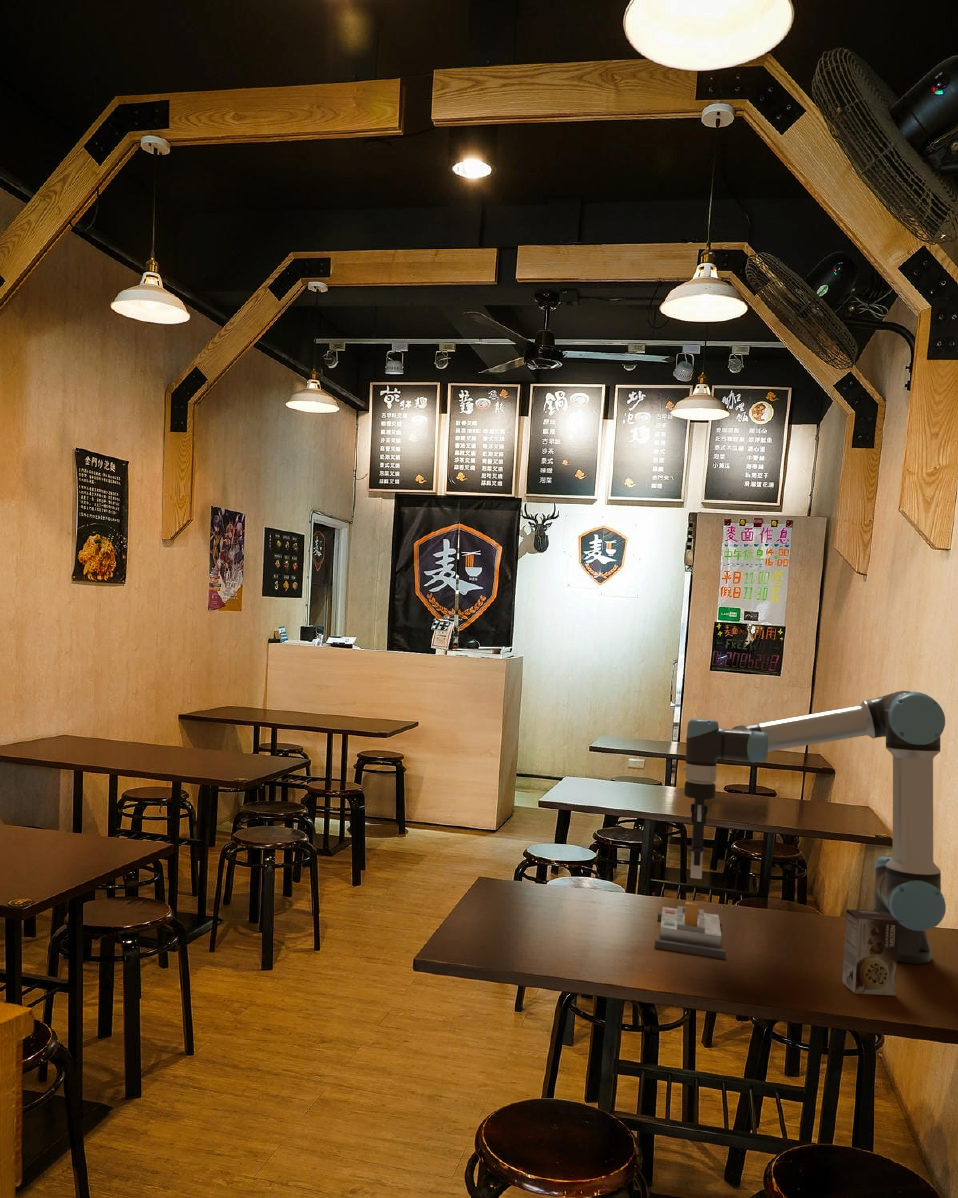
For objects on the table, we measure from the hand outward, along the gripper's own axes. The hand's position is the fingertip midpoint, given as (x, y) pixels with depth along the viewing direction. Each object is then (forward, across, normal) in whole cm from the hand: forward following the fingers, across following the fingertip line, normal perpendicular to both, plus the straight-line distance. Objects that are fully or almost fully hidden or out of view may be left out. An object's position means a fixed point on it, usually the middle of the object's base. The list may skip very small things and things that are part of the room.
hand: (696, 877), depth 221 cm
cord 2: (+14, +12, -1) cm, 19 cm away
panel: (+14, +1, -1) cm, 14 cm away
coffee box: (+16, +19, +37) cm, 44 cm away
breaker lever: (+10, +5, -1) cm, 11 cm away
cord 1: (+14, -10, -1) cm, 17 cm away
